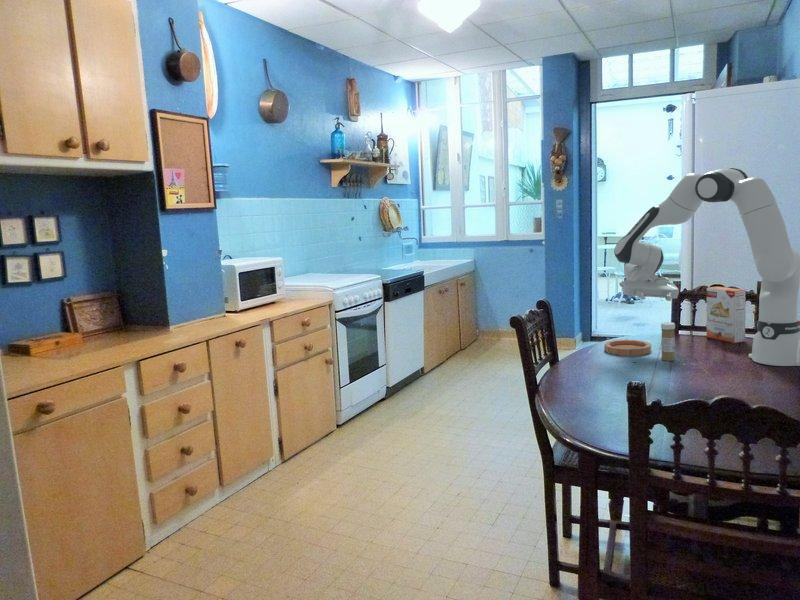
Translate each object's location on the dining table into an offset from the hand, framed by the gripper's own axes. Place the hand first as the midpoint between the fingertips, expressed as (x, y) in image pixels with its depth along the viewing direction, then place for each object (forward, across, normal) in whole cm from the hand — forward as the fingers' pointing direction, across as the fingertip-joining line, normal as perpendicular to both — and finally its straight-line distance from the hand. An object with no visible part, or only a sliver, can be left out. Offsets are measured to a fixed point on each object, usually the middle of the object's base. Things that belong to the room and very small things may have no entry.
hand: (656, 298), depth 222 cm
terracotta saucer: (-1, -5, +24) cm, 24 cm away
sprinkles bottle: (+15, +3, +18) cm, 23 cm away
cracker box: (-11, +36, +21) cm, 43 cm away
